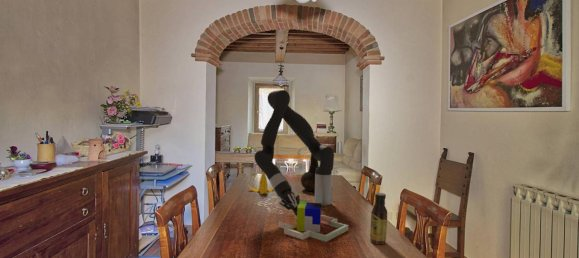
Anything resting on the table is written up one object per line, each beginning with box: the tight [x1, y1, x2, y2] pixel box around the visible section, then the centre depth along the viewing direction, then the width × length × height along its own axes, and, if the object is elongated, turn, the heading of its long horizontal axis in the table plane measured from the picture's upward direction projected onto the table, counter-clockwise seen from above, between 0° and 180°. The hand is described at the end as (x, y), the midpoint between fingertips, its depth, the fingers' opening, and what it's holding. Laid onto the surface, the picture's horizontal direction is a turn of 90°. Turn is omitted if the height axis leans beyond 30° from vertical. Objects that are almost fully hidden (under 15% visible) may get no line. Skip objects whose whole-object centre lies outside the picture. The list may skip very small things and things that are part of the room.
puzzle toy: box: [296, 201, 322, 233], centre depth 144 cm, size 10×10×10 cm
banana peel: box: [247, 171, 275, 195], centre depth 210 cm, size 17×19×17 cm
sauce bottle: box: [369, 192, 388, 245], centre depth 129 cm, size 7×6×20 cm
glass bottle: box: [300, 151, 320, 192], centre depth 218 cm, size 18×18×28 cm
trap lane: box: [278, 214, 349, 243], centre depth 143 cm, size 25×27×2 cm
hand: (299, 215), depth 148 cm, fingers closed
